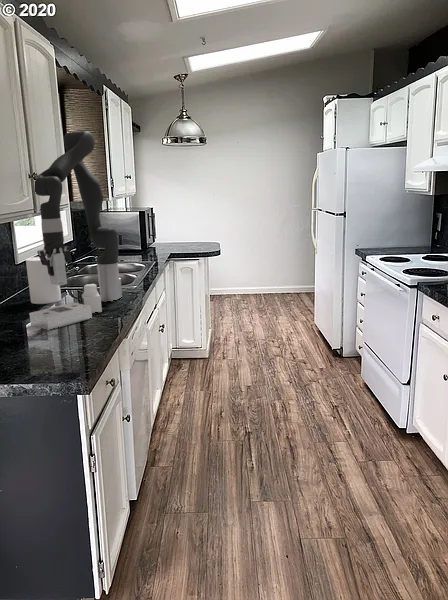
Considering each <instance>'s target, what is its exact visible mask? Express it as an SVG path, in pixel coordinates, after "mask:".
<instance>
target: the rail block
mask: <svg viewBox="0 0 448 600" xmlns="http://www.w3.org/2000/svg"><path fill="white" fill-rule="evenodd" d="M28 314H29V320H30V326H31V327H34V328H38V327H39V328H38V329H42V328H43V330H45V329H47V330H46V331H51V330H50V329H52V330H54V329H53V328H55V329H58V327H59V328H61V327H65V326H69V325H73V324H75V323H80V322H83V321H86V320H91V319H93V313H92V311H91V306H88V305H83V304H82V303H79V302H78V303H77V302H74V301H73V302H68V303H65V304H62V305H61V304H60V305H57V306H52V307H48V308H44V309H40V310H37V311H32V312H29V313H28ZM90 318H91V319H90Z"/></svg>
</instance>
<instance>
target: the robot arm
mask: <svg viewBox="0 0 448 600" xmlns="http://www.w3.org/2000/svg"><path fill="white" fill-rule="evenodd" d="M63 142H64V147H65V151H66V152H65V153H63V154H61V155H60V156H58V157H57V158H56V159H55V160H54V161H53V162H52V164H51V165H50V166H49V167H48V168H46V170H44V171H43V172H41V173H39V174H37V176H38V178H37V179H36V181H35V192H36V193H35V192H34V193H35V194H36V195H37V196H38V197H39V196H41V197H48V196H49V199H48V201H45V202H43V203H41V204H40V206H39V209H40V211H39V212H40V218H41V219H40V220H41V224H40V225H41V232H42V241H43V245H44V246H43V249H41V250H37V252H36V253H37V255H38V257H39V258H40V260H41V263H42V265H46V266H47V268H48V274H49V275H50V276H54V270H53V254H57V253H62V254H63V255H64V263H65V270H66V271H67V265H66V263H69V262H70V261H71V255H72V246H65V243H64V242H65V237H64V228H63V222H62V215H61V200H62V194H63V182H64V181H65V180H66V179H67V178H68V176H69V175H70V174H71V172H72V170H73V173H74V175H75V180H76V184H77V188H78V191H79V195H80V198H81V201H82V204H83V208H84V213H85V217H86V222H87V227H88V233H89V237H90V241H91V244H92V245H93V247H95V248H96V249H104V251H103V254H102V255H99V256H97V257H96V267H97V276H98V277H97V278H98V279H97V280H98V287H99V288H98V291H99V295H100V297H101V302H107V301H111V302H114V301H113V300H117V299H119V298H121V297H122V298H123V290H122V279H121V278H120V275H119V274H120V273H119V261H118V258H119V237H118V233H117V231H116V230H115V228H113V227H102V224H101V219H100V214H101V209H102V207H103V203H104V195H103V190H102V187H101V184H100V181H99V180H98V179H97V177H96V176H95V174H93V173H92V171H90V169H89V168H88V167H87V166H86V165H85V162H84V159H86V157H87V156H88V155H90V154H91V153H92V152H93V151H94V149H95V139H94V136H93V134H92V133H91V132H90V131H88V130H78V131H69V132H66V133H65V135H64V138H63ZM46 254H47V258H46ZM49 257H51V258H49ZM122 298H121V299H122ZM117 301H118V300H117Z"/></svg>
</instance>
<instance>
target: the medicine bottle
mask: <svg viewBox="0 0 448 600" xmlns="http://www.w3.org/2000/svg"><path fill="white" fill-rule="evenodd" d="M98 287H99V286H98V284H97V283H95V282H86V283H83V285H82V294H81V304H83V305H88V306H91V311H92V314H96V313H95V312H98V313H102V312H103V309H102V301H101V297H100V292H99V288H98Z"/></svg>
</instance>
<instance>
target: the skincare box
mask: <svg viewBox="0 0 448 600" xmlns="http://www.w3.org/2000/svg"><path fill="white" fill-rule="evenodd" d="M63 254H64V253H63ZM63 254H62V253H57V254H53V270H54V276H50V275H49V276H50V283H51V284H54V285H58V286H59V285H60V286H64V285H67V284H68V280H67V279H68V278H67V277H68V276H67V273H66V272H67V269H66V270H65V265H66V264H65V263H64V255H63ZM45 256H47V253H45ZM49 258H51V257H49Z"/></svg>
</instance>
